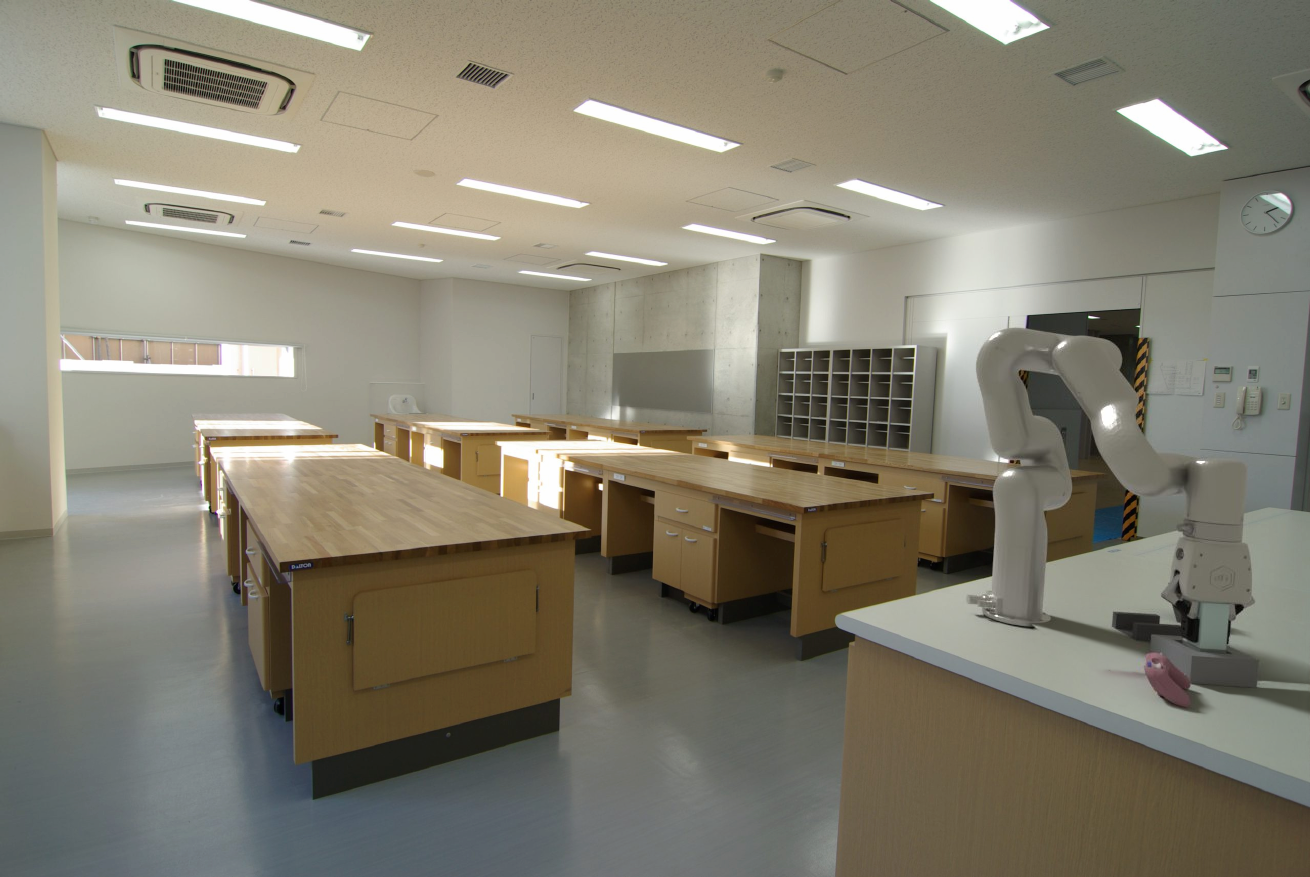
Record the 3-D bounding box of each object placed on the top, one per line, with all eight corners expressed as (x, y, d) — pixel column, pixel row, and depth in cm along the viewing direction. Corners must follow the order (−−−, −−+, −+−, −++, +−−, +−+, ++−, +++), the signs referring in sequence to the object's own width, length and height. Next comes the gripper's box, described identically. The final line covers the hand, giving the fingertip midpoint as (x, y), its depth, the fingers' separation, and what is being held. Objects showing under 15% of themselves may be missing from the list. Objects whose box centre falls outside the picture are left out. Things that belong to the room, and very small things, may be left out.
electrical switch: (1202, 633, 132) (1200, 586, 132) (1169, 629, 135) (1167, 583, 136) (1201, 622, 140) (1199, 577, 140) (1170, 618, 143) (1168, 575, 143)
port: (1189, 683, 107) (1192, 653, 106) (1149, 659, 116) (1151, 631, 116) (1256, 687, 106) (1259, 657, 105) (1210, 663, 116) (1212, 635, 115)
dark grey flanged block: (1136, 645, 123) (1137, 624, 123) (1110, 630, 131) (1112, 611, 131) (1182, 648, 123) (1183, 627, 122) (1153, 633, 130) (1155, 613, 130)
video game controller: (1160, 691, 107) (1138, 648, 108) (1193, 686, 104) (1171, 642, 106) (1157, 712, 99) (1134, 665, 101) (1193, 708, 96) (1169, 660, 98)
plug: (1198, 662, 109) (1203, 602, 108) (1181, 653, 113) (1185, 595, 112) (1225, 664, 109) (1230, 604, 108) (1207, 654, 113) (1211, 597, 112)
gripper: (1174, 534, 107) (1166, 645, 108) (1286, 539, 105) (1277, 652, 106) (1144, 525, 114) (1137, 630, 115) (1248, 530, 113) (1240, 636, 114)
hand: (1204, 639), depth 111 cm, fingers closed on plug, 4 cm apart
